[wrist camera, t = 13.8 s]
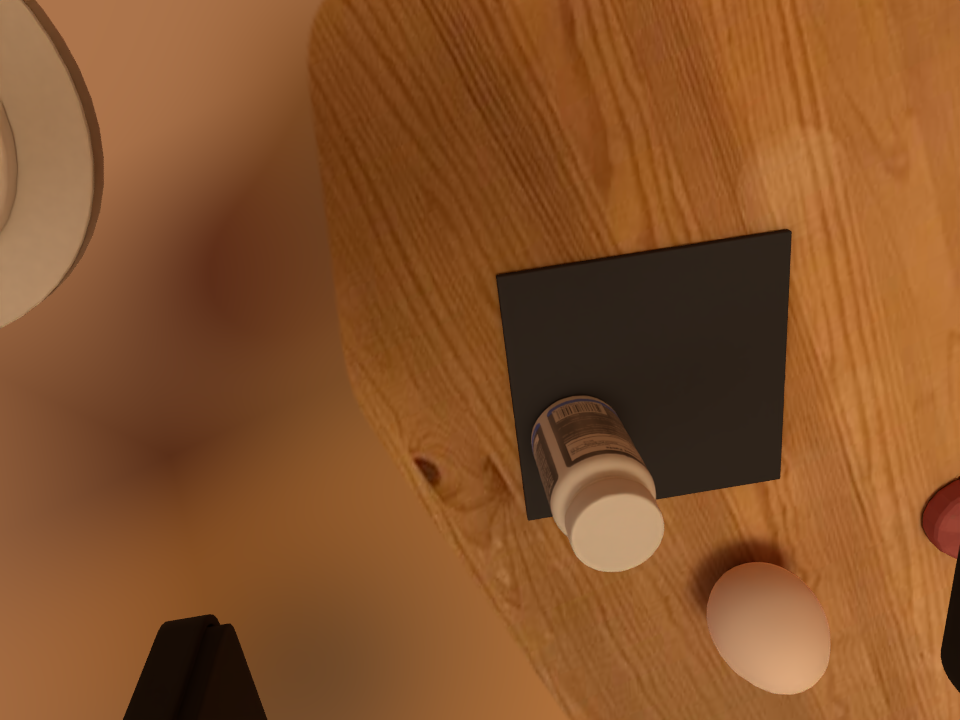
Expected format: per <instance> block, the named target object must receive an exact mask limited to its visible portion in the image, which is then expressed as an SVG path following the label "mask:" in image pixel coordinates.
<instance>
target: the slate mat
mask: <svg viewBox="0 0 960 720" xmlns="http://www.w3.org/2000/svg"><path fill="white" fill-rule="evenodd" d="M791 234H792V232H791V231H790V230H788V229H786V230H780V231H774V232H767V233H761V234H755V235H748V236H742V237H735V238H729V239H723V240H716V241H710V242H703V243H697V244H691V245H684V246H678V247H671V248H665V249H659V250H652V251H646V252H640V253H633V254H627V255H620V256H614V257H608V258H601V259H595V260H588V261H582V262H576V263H569V264H563V265H556V266H550V267H544V268H537V269H531V270H525V271H518V272H512V273H505V274H499V275H496V279H497V287H498V294H499V302H500V310H501V318H502V325H503V333H504V341H505V349H506V356H507V364H508V372H509V380H510V387H511V395H512V403H513V410H514V418H515V426H516V434H517V441H518V449H519V457H520V465H521V472H522V480H523V488H524V496H525V503H526V511H527V518H528V520H535V519H541V518H547V517H553V515H552V512H551V509H550V506H549V502H548V499H547V496H546V493H545V490H544V487H543V483H542V481H541V477H540V474H539V470H538V467H537V464H536V461H535V458H534V454H533V450H532V444H531V436H532V430H533V427H534V425H535V423H536V421H537V419H538V418H539V417H540V415H541V414H542V413H543V412H544V411H545V410H546V409H547V408H548V407H549V406H551V405H552V404H554V403H555V402H557V401H559V400H561V399H564V398H567V397H571V396H590V397H594V398H597V399H599V400H601V401H603V402H605V403H606V404H608V405H609V406H610V407H611V408H612V409H613V410H614V411H615V412H616V414H617V415H618V417H619V419H620V421H621V423H622V424H623V426H624V428H625V430H626V431H627V433H628V435H629V436H630V438H631V440H632V442H633V444H634V446H635V448H636V450H637V451H638V453H639V455H640V457H641V458H642V460H643V462H644V464H645V466H646V467H647V469H648V470H649V472H650V474H651V476H652V478H653V481H654V485H655V490H656V499H661V498H667V497H673V496H680V495H686V494H692V493H698V492H704V491H710V490H716V489H722V488H728V487H734V486H740V485H746V484H752V483H758V482H764V481H770V480H776V479H780V470H781V449H782V427H783V406H784V384H785V363H786V341H787V320H788V298H789V277H790V255H791Z"/></svg>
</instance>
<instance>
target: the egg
mask: <svg viewBox="0 0 960 720" xmlns="http://www.w3.org/2000/svg"><path fill="white" fill-rule="evenodd" d="M707 623H708V629H709V632H710V635H711V637H712V640H713V642H714V644H715V646H716V648H717V650H718V652H719V653H720V655H721V656H722V658H723V659H724V660H725V661H726V663H727V664H728V665H729V666H730V667H731V668H732V669H733V670H734V671H735V672H736V673H737V674H738V675H740V676H741V677H743V678H744V679H746V680H747V681H748V682H750V683H751V684H753V685H754V686H756V687H759V688H761V689H763V690H766V691H768V692H771V693H775V694H791V695H792V694H796V693H800V692H803V691H805V690H807V689H809V688H811V687H813V686H814V685H815V684H816V683H817V681H818V680H819V679H820V678H821V677H822V675H823V674H824V672H825V670H826V668H827V665H828V661H829V655H830V630H829V625H828V621H827V618H826V615H825V613H824V611H823V608H822V606H821V604H820V602H819V601H818V599H817V597H816V596H815V594H814V593H813V592H812V590H811V589H810V588H809V587H808V586H807V585H806V584H805V583H804V582H803V581H802V580H801V579H800V578H799V577H798V576H796V575H795V574H793V573H791V572H790V571H788V570H786V569H784V568H782V567H780V566H777V565H774V564H770V563H765V562H750V563H744V564H741V565H738V566H735V567H733V568H732V569H730V570H728V571H726V572H725V573H724V574H723V575H722V576H721V577H720V579H719V580H718V581H717V582H716V583H715V585H714V587H713V589H712V591H711V593H710V596H709V600H708V604H707Z"/></svg>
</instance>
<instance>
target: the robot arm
mask: <svg viewBox="0 0 960 720" xmlns="http://www.w3.org/2000/svg"><path fill="white" fill-rule="evenodd" d="M16 181H17V159H16V152H15V145H14V138H13V134H12V131H11V128H10V125H9V122H8V119H7V116H6V113H5V110H4V107H3V105H2V103H1V101H0V233H1V231H2V229H3V228H4V226H5V224H6V222H7V221H8V219H9V215H10V212H11V208H12V205H13V202H14V198H15V195H16ZM941 660H942V664H943V667H944V670H945V672H946V674H947V676H948V678H949V680H950V681H951V682H952V684H953V685H954V686H955V688H956V689H957V690H958V691H959V692H960V546H959V552H958V557H957V563H956V568H955V574H954V580H953V585H952V591H951V597H950V602H949V608H948V614H947V619H946V625H945V630H944V636H943V642H942V647H941ZM123 720H267V717H266V715H265V712H264V709H263V706H262V703H261V701H260V698H259V695H258V693H257V690H256V687H255V684H254V681H253V679H252V676H251V673H250V670H249V668H248V665H247V662H246V659H245V657H244V654H243V651H242V648H241V645H240V643H239V640H238V637H237V635H236V632H235V629H234V627H233V626H232V625H231V624H224V625H220V623H219V622H218V619H217V618H216V617H215V616H214V615H211V614H209V615H203V616H197V617H191V618H185V619H179V620H173V621H168V622H165V623H164V624H163V625H162V626H161V627H160V629H159V631H158V633H157V635H156V638H155V640H154V643H153V646H152V648H151V651H150V653H149V656H148V658H147V661H146V663H145V666H144V668H143V671H142V673H141V676H140V678H139V681H138V683H137V686H136V688H135V691H134V693H133V696H132V698H131V701H130V703H129V706H128V708H127V711H126V713H125V716H124V718H123Z"/></svg>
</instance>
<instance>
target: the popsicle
mask: <svg viewBox="0 0 960 720" xmlns="http://www.w3.org/2000/svg"><path fill="white" fill-rule="evenodd" d="M923 528H924V530H925V532H926V534H927V536H928V538H929V540H930V541H931V542H932V543H933V544H934V545H935V546H936V547H937V548H938V549H939V550H940V551H942V552H944V553H946V554H948V555H950V556H952V557H954V558H956V559H957V557H958V552H959V546H960V480H956V481H954V482H952V483H951V484H949V485H948V486H946V487H944V488H943V489H941V490H940V491H938V492H937V494H936V495H935V496H934V497H933V498H932V499H931V500H930V502H929V503H928V505H927V507H926V509H925V511H924V513H923Z"/></svg>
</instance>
